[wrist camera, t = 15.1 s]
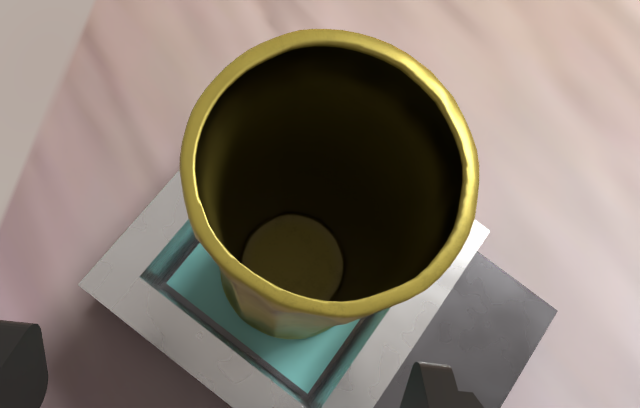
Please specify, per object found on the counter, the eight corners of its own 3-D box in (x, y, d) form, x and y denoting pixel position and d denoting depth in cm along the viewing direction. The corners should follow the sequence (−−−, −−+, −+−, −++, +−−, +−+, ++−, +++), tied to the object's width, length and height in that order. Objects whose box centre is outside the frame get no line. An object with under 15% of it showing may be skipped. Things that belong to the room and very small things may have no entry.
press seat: (402, 254, 24) (408, 251, 24) (305, 391, 23) (307, 393, 22) (275, 158, 25) (275, 151, 24) (170, 285, 23) (166, 283, 22)
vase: (346, 354, 22) (479, 388, 8) (202, 320, 22) (97, 296, 8) (375, 216, 24) (528, 51, 10) (241, 182, 23) (207, -34, 10)
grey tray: (546, 311, 26) (612, 306, 21) (408, 542, 23) (447, 598, 18) (266, 103, 27) (267, 52, 22) (99, 297, 24) (56, 287, 19)
